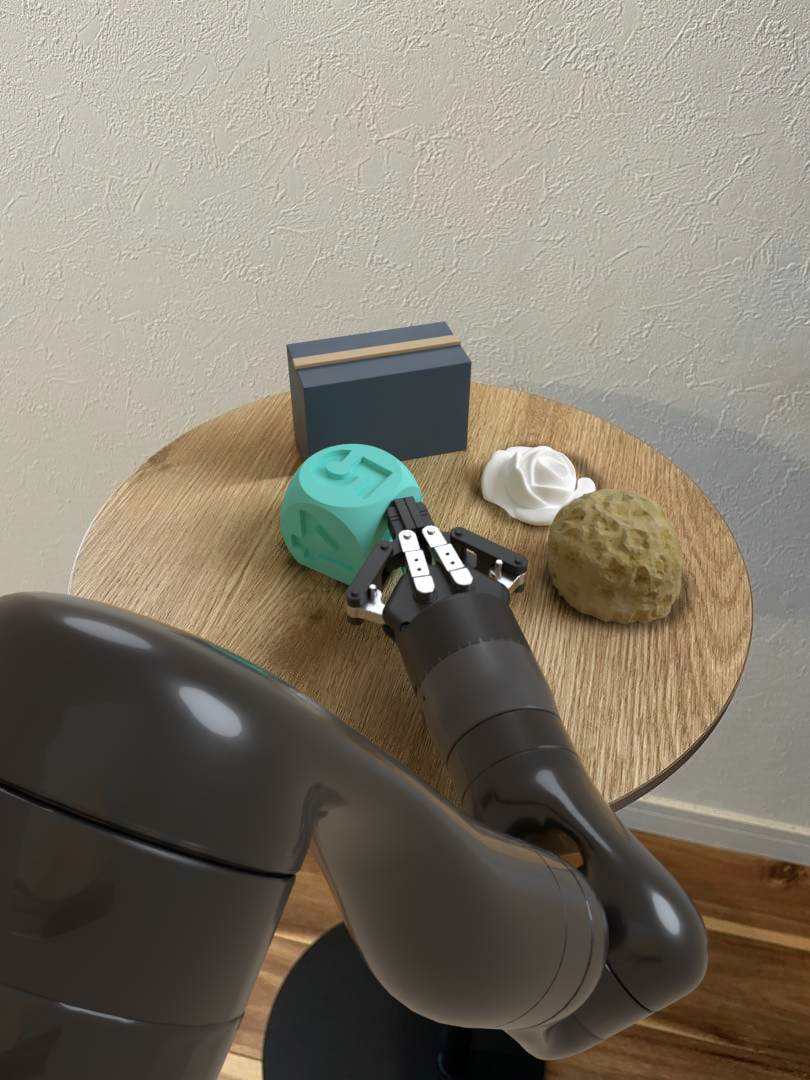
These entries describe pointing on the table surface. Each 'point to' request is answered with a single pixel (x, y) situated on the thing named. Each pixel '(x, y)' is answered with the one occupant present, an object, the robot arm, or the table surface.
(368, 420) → the box
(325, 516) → the decorative dice
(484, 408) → the table surface
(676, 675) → the table surface
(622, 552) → the rock
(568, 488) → the rose
